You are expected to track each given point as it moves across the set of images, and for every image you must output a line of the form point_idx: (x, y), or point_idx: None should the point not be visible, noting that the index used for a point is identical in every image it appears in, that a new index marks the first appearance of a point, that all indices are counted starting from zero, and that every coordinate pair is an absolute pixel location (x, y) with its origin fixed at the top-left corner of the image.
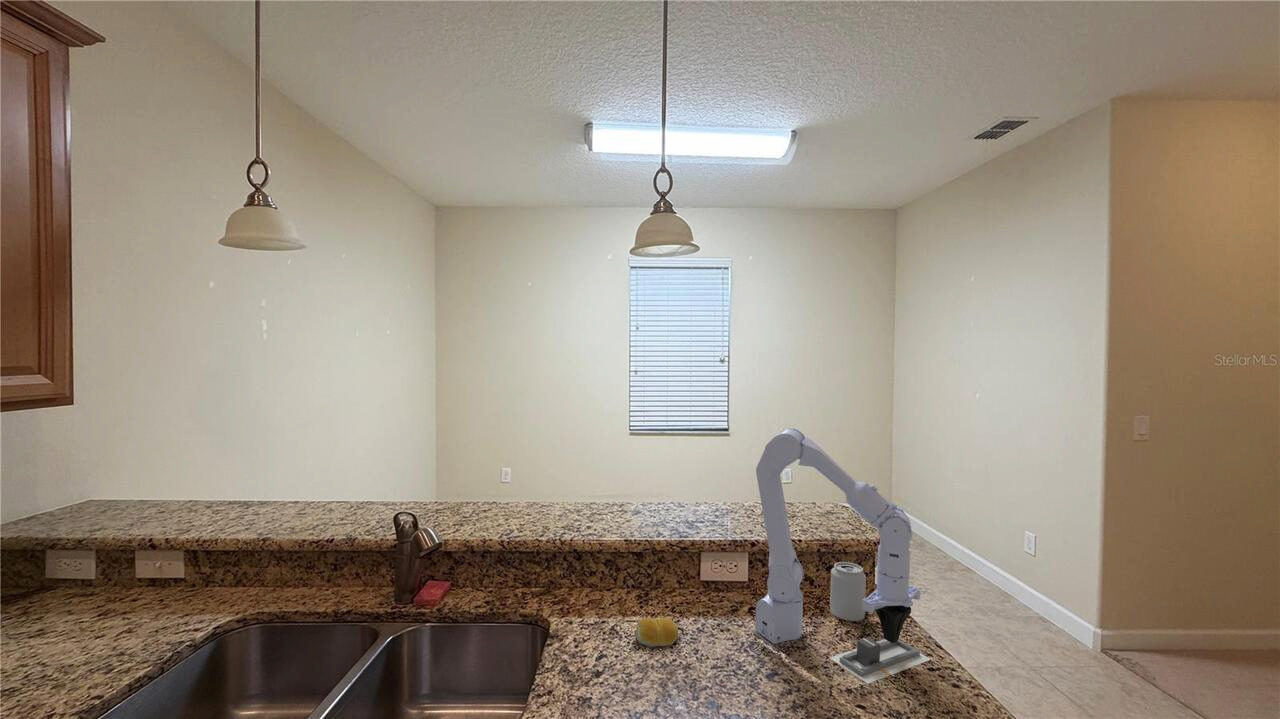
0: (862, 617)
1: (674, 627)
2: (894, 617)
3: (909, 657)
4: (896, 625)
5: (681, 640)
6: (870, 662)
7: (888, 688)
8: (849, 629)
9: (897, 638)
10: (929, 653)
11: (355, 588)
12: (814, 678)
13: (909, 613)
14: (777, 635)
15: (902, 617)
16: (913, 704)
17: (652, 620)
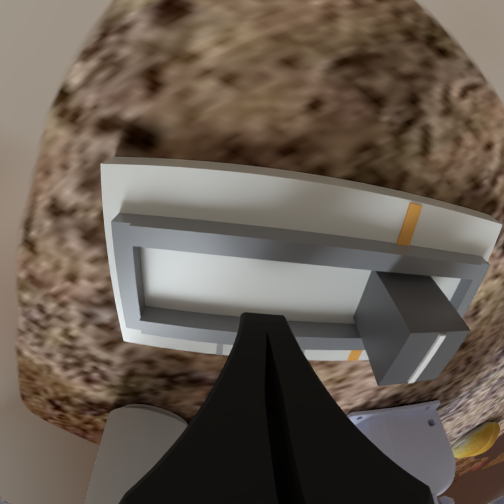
0: (133, 416)
1: (478, 444)
2: (426, 486)
3: (198, 223)
4: (318, 415)
5: (470, 429)
6: (430, 285)
7: (444, 174)
8: (196, 406)
9: (253, 327)
10: (50, 215)
11: (485, 467)
12: (497, 314)
13: (153, 498)
14: (436, 428)
15: (269, 480)
16: (462, 73)
17: (483, 451)
